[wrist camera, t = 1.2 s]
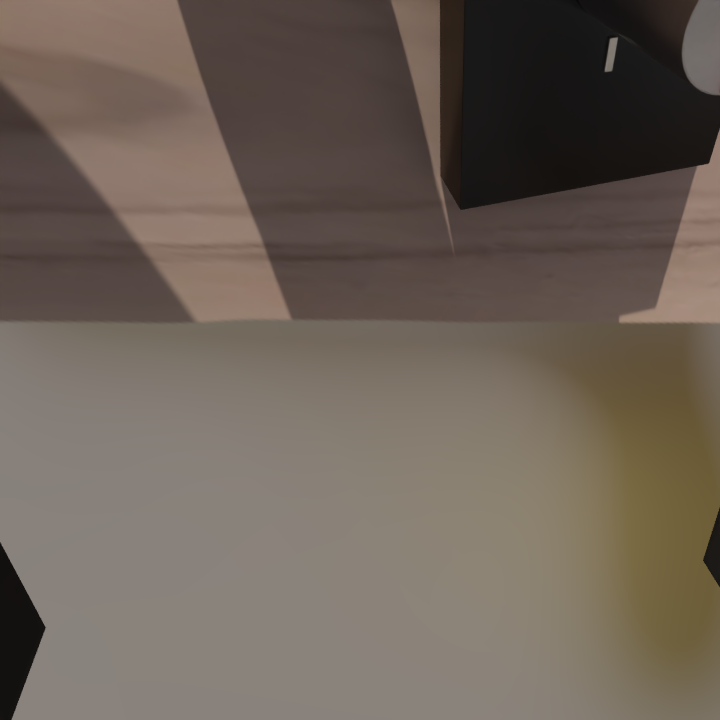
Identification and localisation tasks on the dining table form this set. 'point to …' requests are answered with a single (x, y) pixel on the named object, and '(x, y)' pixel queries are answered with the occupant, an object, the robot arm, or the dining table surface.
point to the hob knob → (669, 34)
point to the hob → (557, 103)
